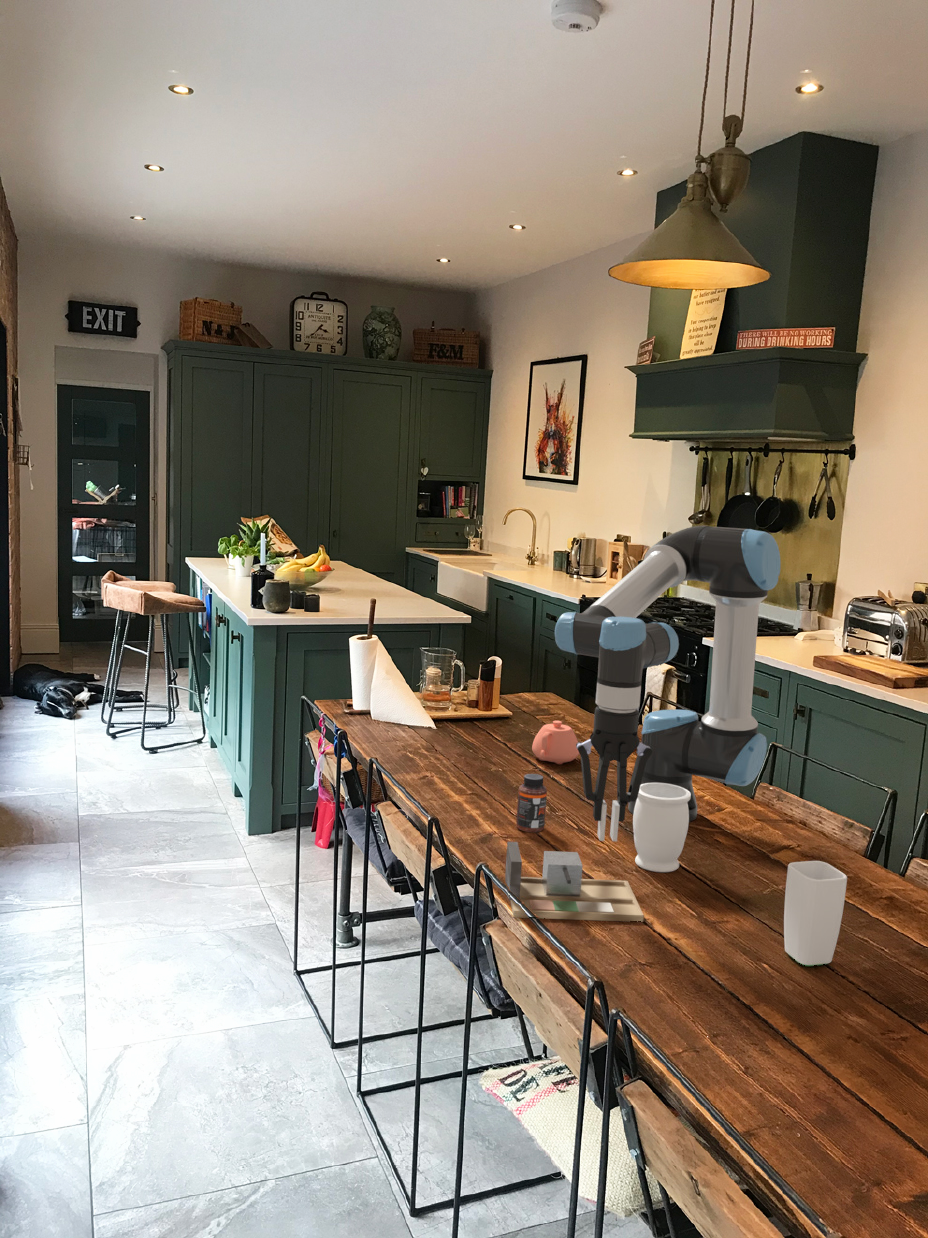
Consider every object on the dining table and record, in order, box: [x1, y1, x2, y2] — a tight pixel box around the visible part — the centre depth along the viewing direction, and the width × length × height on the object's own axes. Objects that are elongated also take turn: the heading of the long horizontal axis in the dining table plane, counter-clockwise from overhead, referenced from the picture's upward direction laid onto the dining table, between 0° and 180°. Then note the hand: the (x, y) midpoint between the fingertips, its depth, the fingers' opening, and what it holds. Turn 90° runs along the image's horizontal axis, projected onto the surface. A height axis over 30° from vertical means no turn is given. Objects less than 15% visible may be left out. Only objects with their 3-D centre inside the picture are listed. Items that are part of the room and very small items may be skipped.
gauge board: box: [504, 841, 645, 923], centre depth 173 cm, size 22×14×8 cm, turn 92°
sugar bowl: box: [531, 720, 580, 765], centre depth 257 cm, size 12×14×10 cm
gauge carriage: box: [541, 850, 583, 897], centre depth 172 cm, size 6×11×6 cm, turn 2°
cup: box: [783, 860, 848, 967], centre depth 157 cm, size 7×7×15 cm
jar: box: [632, 783, 691, 873], centre depth 191 cm, size 11×10×15 cm
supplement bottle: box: [515, 773, 548, 833], centre depth 208 cm, size 6×6×11 cm
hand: (607, 838), depth 174 cm, fingers open, 1 cm apart
